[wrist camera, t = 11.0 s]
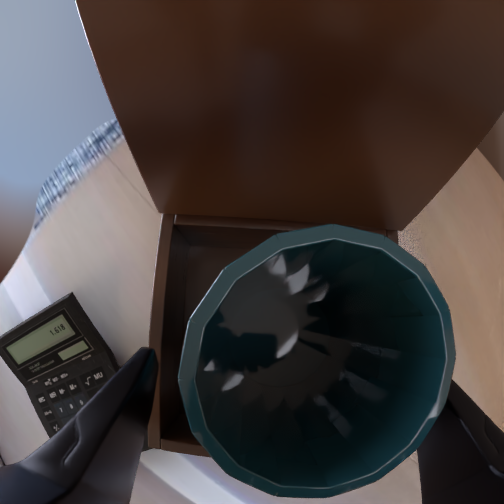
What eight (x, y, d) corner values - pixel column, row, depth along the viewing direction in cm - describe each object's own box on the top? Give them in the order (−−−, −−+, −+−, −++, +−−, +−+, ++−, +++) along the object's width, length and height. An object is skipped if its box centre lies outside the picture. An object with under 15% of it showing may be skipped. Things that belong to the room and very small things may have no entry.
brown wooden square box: (352, 423, 17) (382, 451, 12) (171, 417, 17) (147, 447, 12) (363, 248, 20) (397, 227, 14) (183, 236, 20) (162, 210, 14)
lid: (555, 28, 2) (488, -20, 3) (58, -60, 2) (125, -77, 3) (401, 231, 14) (389, 172, 15) (158, 213, 14) (174, 153, 15)
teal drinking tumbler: (351, 348, 17) (483, 379, 6) (264, 409, 17) (288, 532, 5) (293, 262, 19) (363, 176, 7) (202, 322, 18) (123, 333, 6)
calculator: (72, 464, 15) (55, 478, 12) (13, 338, 17) (-10, 338, 15) (160, 442, 16) (148, 459, 13) (88, 294, 19) (66, 290, 16)
